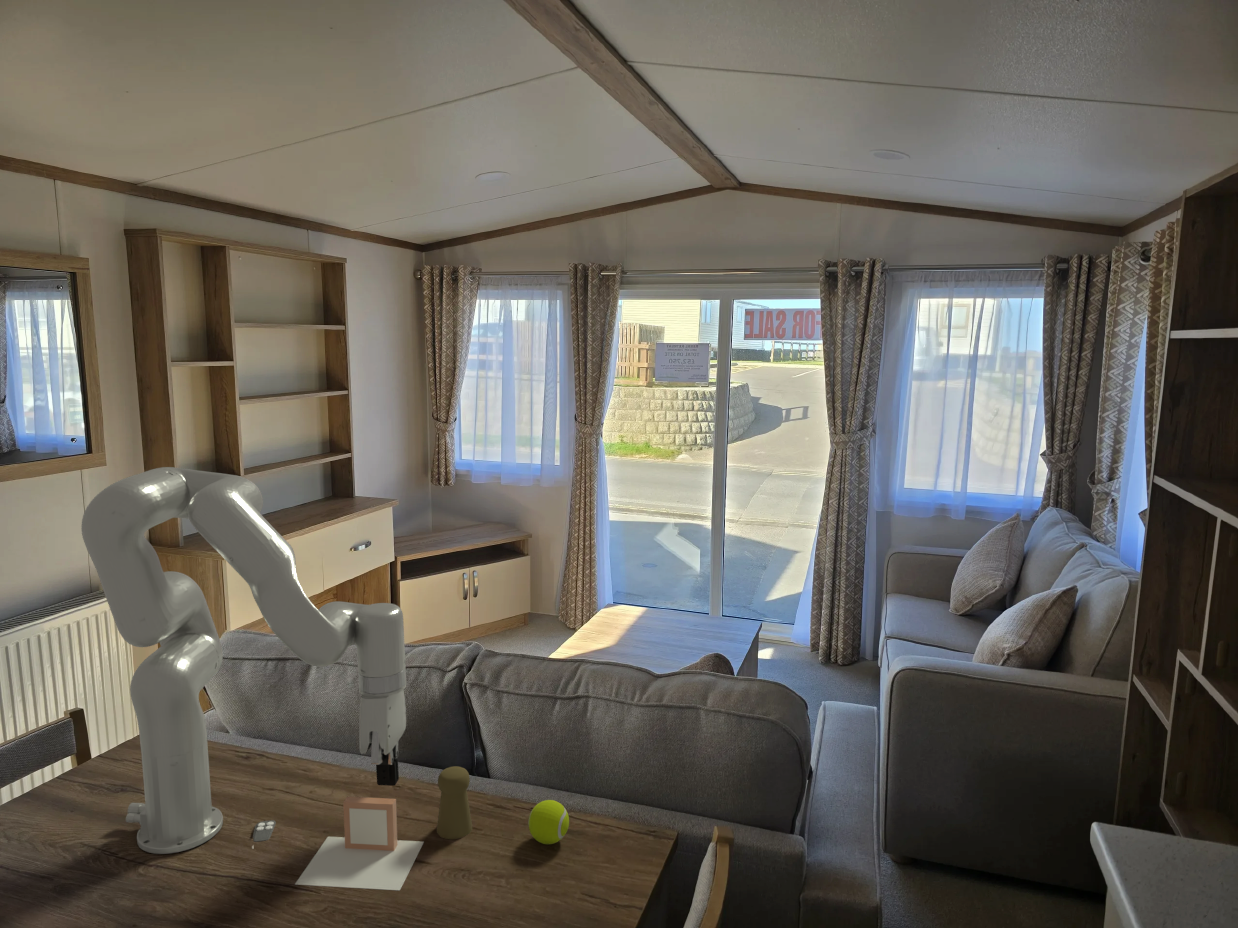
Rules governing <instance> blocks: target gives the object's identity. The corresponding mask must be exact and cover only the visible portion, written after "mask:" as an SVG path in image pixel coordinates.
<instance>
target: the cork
mask: <svg viewBox="0 0 1238 928" xmlns="http://www.w3.org/2000/svg"><path fill="white" fill-rule="evenodd" d="M470 779H471V778H470V773H469V771H468V770H467V769H466V768H464V767H462V766H458V765H457V766H456V765H455V766H449V767H446V768H445V769H443V770H441V772H440V773H439V775H438V778H437V787H438V790H439V791H440V800H439V810H438V816H437V824H436V834H437V835H438V836H439V837H440V838H443V839H445V840H457V839H458V840H459V839H461V838H464V837H466V836H468V835H469V834H470V833H472V831H473V822H472V816H471V815H472V814H471V809H470V804H469V797H468V790H467V789H468V788H469V786H470V784H471V783H470V781H471V780H470Z"/></svg>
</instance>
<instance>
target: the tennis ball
mask: <svg viewBox="0 0 1238 928" xmlns="http://www.w3.org/2000/svg"><path fill="white" fill-rule="evenodd" d="M569 827H570V816H569V813H568V811H567V809H566V808H565V806H564V805H563V804H562V803H560V802H558V801H556V800H553V799H546V800H542V801H539V802H538V803H537V804H536V805H534V807H533V808H532V810H531V811H530V813H529V815H528V830H529V833H530V835H531V836H532V838H533V839H535V841H537V842H538V843H541V844H543V845H553V844H556V843H558V842H559V841H561V840H563V838H564V837H565V836H566V834H567V832H568V830H569Z"/></svg>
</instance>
